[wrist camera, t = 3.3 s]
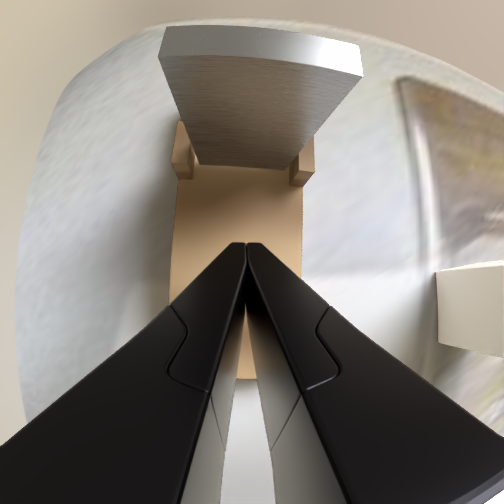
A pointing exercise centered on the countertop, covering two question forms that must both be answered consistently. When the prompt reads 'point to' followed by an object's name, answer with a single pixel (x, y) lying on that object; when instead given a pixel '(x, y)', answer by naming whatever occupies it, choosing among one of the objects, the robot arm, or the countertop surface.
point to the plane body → (235, 217)
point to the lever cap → (254, 90)
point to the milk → (472, 307)
